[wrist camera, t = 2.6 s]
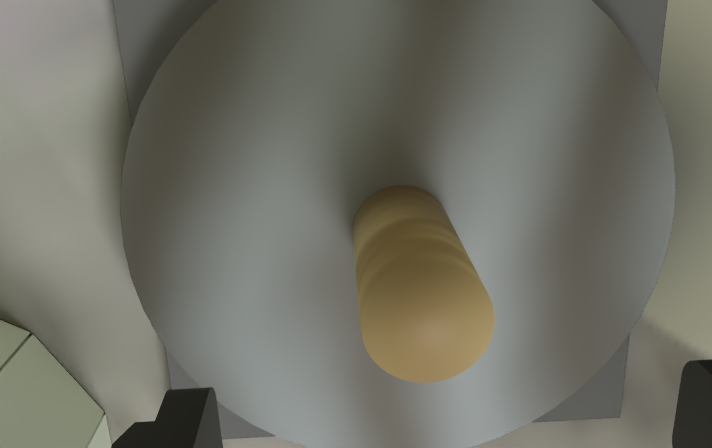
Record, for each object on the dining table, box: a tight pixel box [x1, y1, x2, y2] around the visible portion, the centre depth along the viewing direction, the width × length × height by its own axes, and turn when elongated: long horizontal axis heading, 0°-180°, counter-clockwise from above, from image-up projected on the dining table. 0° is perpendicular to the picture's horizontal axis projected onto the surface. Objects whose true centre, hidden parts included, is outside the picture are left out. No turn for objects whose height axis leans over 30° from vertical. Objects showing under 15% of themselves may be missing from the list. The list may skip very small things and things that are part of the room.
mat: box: [113, 0, 668, 439], centre depth 22 cm, size 16×16×1 cm
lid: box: [120, 0, 676, 448], centre depth 18 cm, size 17×17×7 cm
